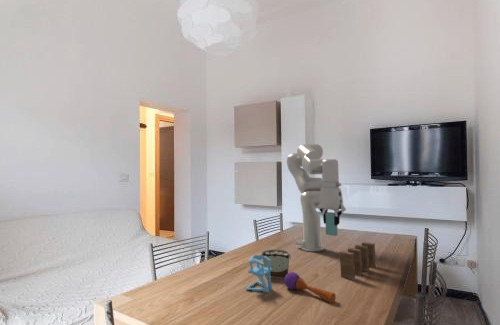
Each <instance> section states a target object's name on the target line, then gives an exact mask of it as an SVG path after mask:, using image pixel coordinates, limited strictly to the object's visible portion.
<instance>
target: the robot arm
mask: <svg viewBox="0 0 500 325" xmlns="http://www.w3.org/2000/svg"><path fill="white" fill-rule="evenodd" d="M296 150H297V151H296V152H294V153H291V154H289V155H287V158H286V164H287V169H288V171H289V173H290V174H291V176H292V177H293V179H294V182H295V184H296V187H297V189H298V191H299V193H301V194H300V197H299V198H300V199H299V200H300V205H301V211H302V230H303V231H302V236H303V239H302V240H295V242H294V244H295V245H297V246H300V249H301V250H303V251H306V252H321V251H324V250H325V246H324V245H322V232H321V231H322V229H321V228H322V226H321V215H320V214H319V212H318V211H320V213H321V214H322V215H323V216H322V217H323V218H322V219H323V224H325V225H326V215H325V213H329V212H328V211H329V210H330V211H333V212H334V213H335V216H334V225H337V226H338V225H340V216H341V215H342V214H343V213H344V212H345V211H347V208H346V207H345V205H344V200H343V193H342V188H341V186H342V183H341V182H340V178H339V175H340V174H339V161H338V160H337V159H336V158H322V157H323V154H324V151H323V150H324V149H323V147H322V146H321V145H320V144H318V143H317V144H316V143H313V144H312V143H310V144H309V143H308V144H301V145H299V146H298V147H297V149H296ZM321 158H322V159H321ZM309 175H321V177H310V176H309ZM317 209H318V210H317Z"/></svg>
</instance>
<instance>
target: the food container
mask: <svg viewBox="0 0 500 325" xmlns="http://www.w3.org/2000/svg"><path fill="white" fill-rule="evenodd" d="M261 255H262V256H266V257H267V258H268V259H270V260H271V262H270V268H272V271H271V272H270V276H271V278H273V277H278V278H277V279H283V278H285V276H286V275H287V274H288V273H289V268H290V267H289V266H290V265H289V264H290V260H291V259H292V258H291V254H290V252H289V251H288V250H285V249H267V250H264V251H262V253H261ZM262 263H264V267H265V268H268V267H267V265H268V261H267V260H265V259H262ZM265 276H266V275H265ZM265 276H264V277H265Z"/></svg>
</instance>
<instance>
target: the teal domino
mask: <svg viewBox="0 0 500 325" xmlns="http://www.w3.org/2000/svg"><path fill="white" fill-rule="evenodd" d="M325 215H326V223H325V235H328V236H334V237H336V236H338V225H334V216H335V213H333V212H327V213H325Z"/></svg>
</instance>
